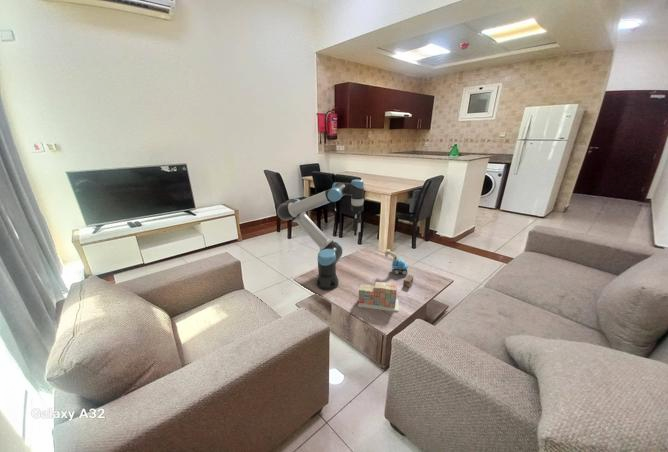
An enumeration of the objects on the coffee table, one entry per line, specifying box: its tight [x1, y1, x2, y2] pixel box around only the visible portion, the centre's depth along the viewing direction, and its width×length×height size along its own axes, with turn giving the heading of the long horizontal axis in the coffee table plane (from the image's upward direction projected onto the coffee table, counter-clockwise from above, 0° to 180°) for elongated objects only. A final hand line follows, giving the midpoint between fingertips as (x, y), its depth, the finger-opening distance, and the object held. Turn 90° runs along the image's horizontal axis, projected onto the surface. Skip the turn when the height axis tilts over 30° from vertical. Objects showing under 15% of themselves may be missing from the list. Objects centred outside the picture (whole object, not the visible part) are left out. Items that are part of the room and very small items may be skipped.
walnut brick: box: [402, 273, 414, 289], centre depth 170 cm, size 4×8×5 cm, turn 146°
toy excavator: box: [384, 248, 409, 276], centre depth 183 cm, size 9×17×17 cm, turn 80°
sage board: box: [357, 298, 399, 312], centre depth 152 cm, size 23×10×1 cm, turn 77°
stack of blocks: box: [358, 281, 398, 308], centre depth 150 cm, size 21×6×12 cm, turn 76°
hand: (356, 235), depth 169 cm, fingers open, 13 cm apart
